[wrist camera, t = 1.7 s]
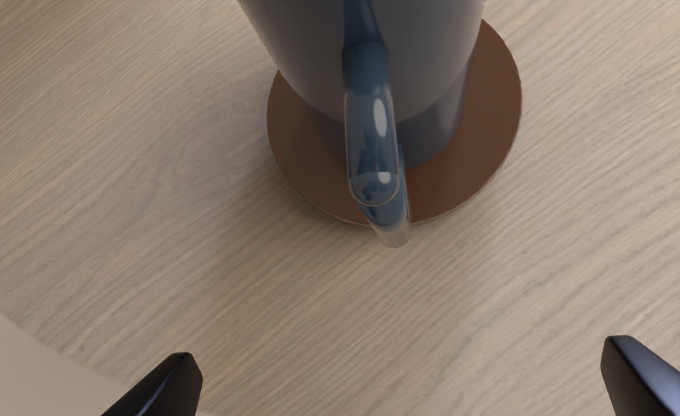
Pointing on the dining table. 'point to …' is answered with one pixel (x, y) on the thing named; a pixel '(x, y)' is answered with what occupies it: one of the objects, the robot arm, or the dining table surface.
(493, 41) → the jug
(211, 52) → the dining table surface
